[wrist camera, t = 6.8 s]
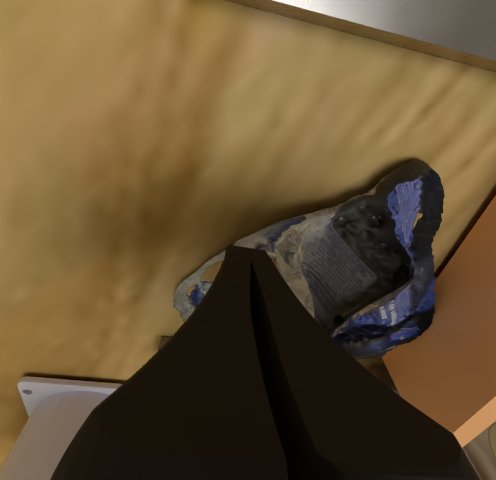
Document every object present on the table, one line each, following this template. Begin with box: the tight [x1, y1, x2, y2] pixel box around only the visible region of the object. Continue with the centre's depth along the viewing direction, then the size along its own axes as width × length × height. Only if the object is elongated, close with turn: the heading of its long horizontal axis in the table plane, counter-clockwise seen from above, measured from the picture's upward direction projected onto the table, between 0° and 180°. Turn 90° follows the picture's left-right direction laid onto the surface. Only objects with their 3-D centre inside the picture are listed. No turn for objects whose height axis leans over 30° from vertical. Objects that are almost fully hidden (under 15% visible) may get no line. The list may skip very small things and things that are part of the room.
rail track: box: [158, 0, 496, 396], centre depth 13 cm, size 18×18×2 cm
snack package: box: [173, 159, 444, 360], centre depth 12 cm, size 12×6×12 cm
